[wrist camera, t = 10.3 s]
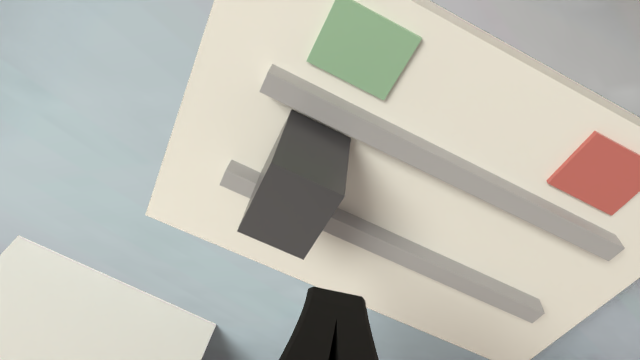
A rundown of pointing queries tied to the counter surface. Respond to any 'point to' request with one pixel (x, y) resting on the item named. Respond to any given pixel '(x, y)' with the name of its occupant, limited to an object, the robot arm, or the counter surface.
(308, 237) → the handle
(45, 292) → the milk
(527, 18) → the counter surface
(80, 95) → the counter surface
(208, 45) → the slider switch base
